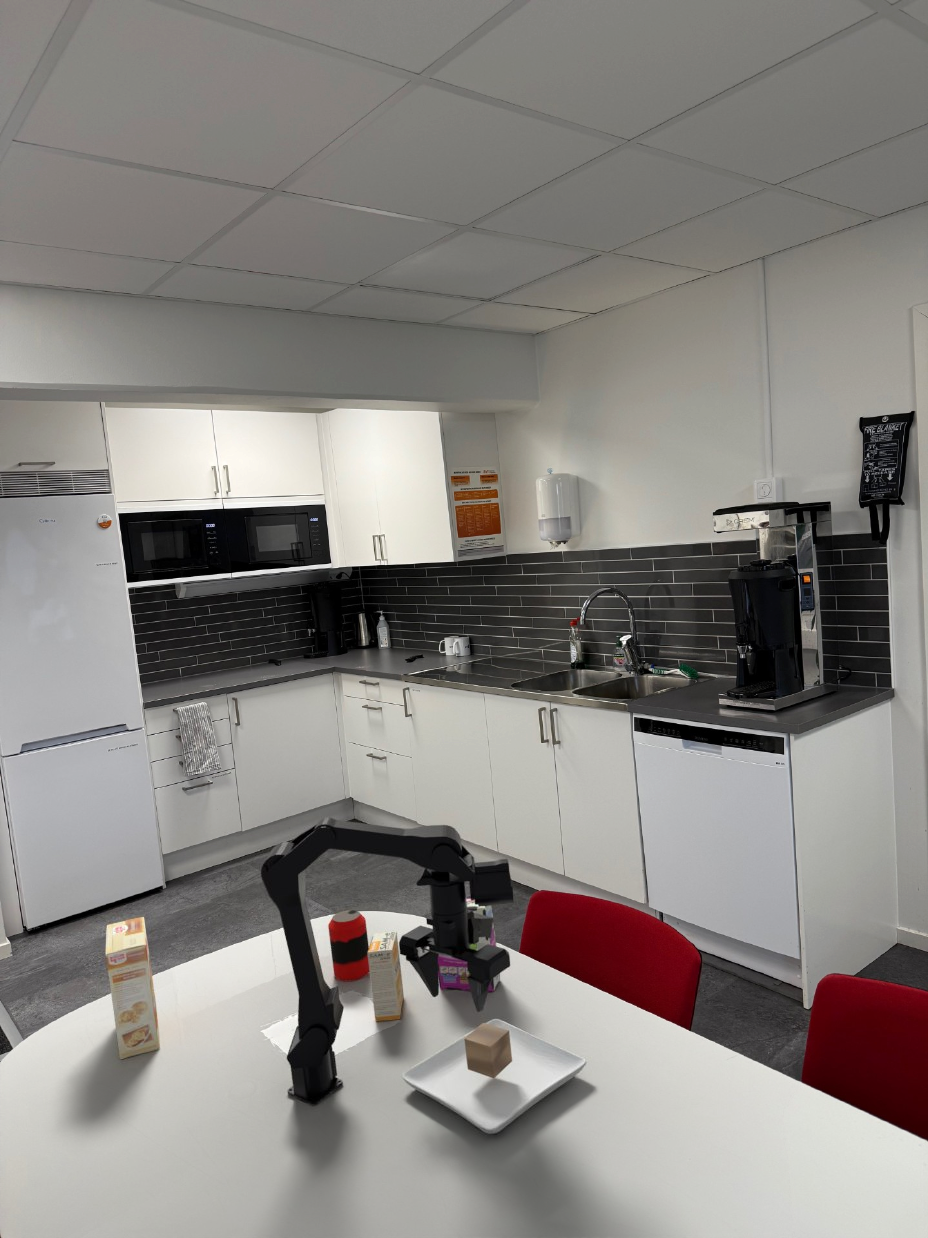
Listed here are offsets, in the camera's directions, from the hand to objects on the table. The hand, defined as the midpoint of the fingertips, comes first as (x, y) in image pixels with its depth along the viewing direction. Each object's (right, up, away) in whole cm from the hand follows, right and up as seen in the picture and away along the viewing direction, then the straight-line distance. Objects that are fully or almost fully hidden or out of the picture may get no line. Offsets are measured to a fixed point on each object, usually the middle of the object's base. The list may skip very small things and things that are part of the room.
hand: (457, 1003), depth 137 cm
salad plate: (+6, -12, -3) cm, 14 cm away
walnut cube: (+5, -8, -3) cm, 10 cm away
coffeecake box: (-59, -17, +23) cm, 66 cm away
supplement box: (-13, -12, +23) cm, 29 cm away
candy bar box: (+2, -10, +29) cm, 31 cm away
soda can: (-22, -11, +39) cm, 46 cm away
